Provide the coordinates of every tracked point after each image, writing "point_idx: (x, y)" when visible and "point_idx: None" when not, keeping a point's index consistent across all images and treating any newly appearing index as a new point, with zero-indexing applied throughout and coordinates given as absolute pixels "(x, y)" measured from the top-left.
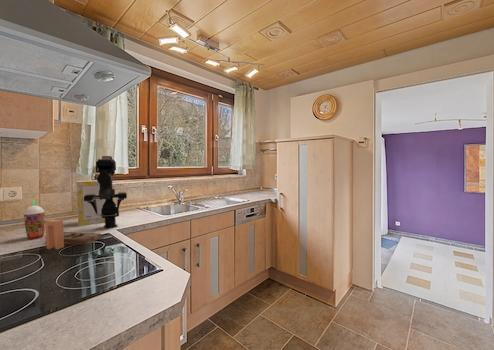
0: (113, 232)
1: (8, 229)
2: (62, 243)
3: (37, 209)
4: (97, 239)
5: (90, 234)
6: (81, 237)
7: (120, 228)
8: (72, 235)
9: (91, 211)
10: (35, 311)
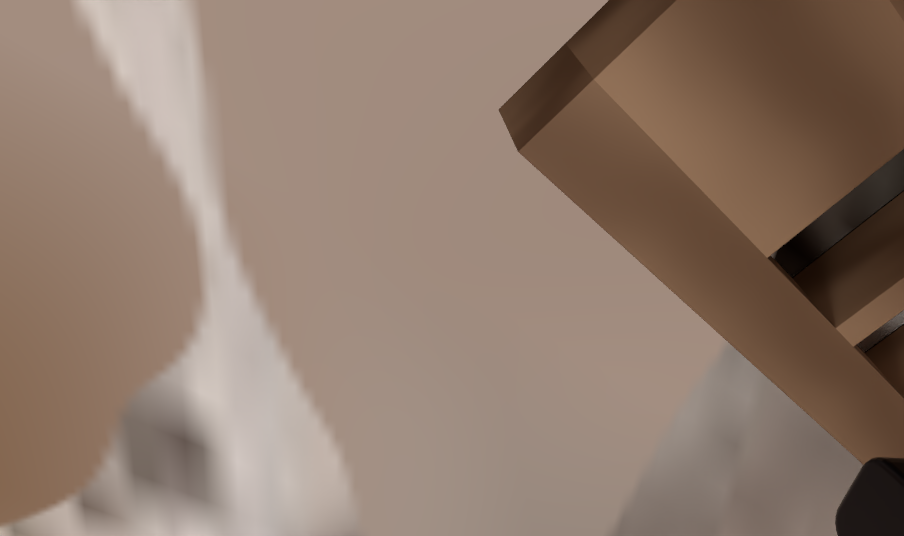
0: (274, 359)
1: None
2: None
3: None
4: (576, 35)
5: (704, 196)
6: (887, 70)
7: (160, 524)
8: (891, 381)
9: None
10: None
